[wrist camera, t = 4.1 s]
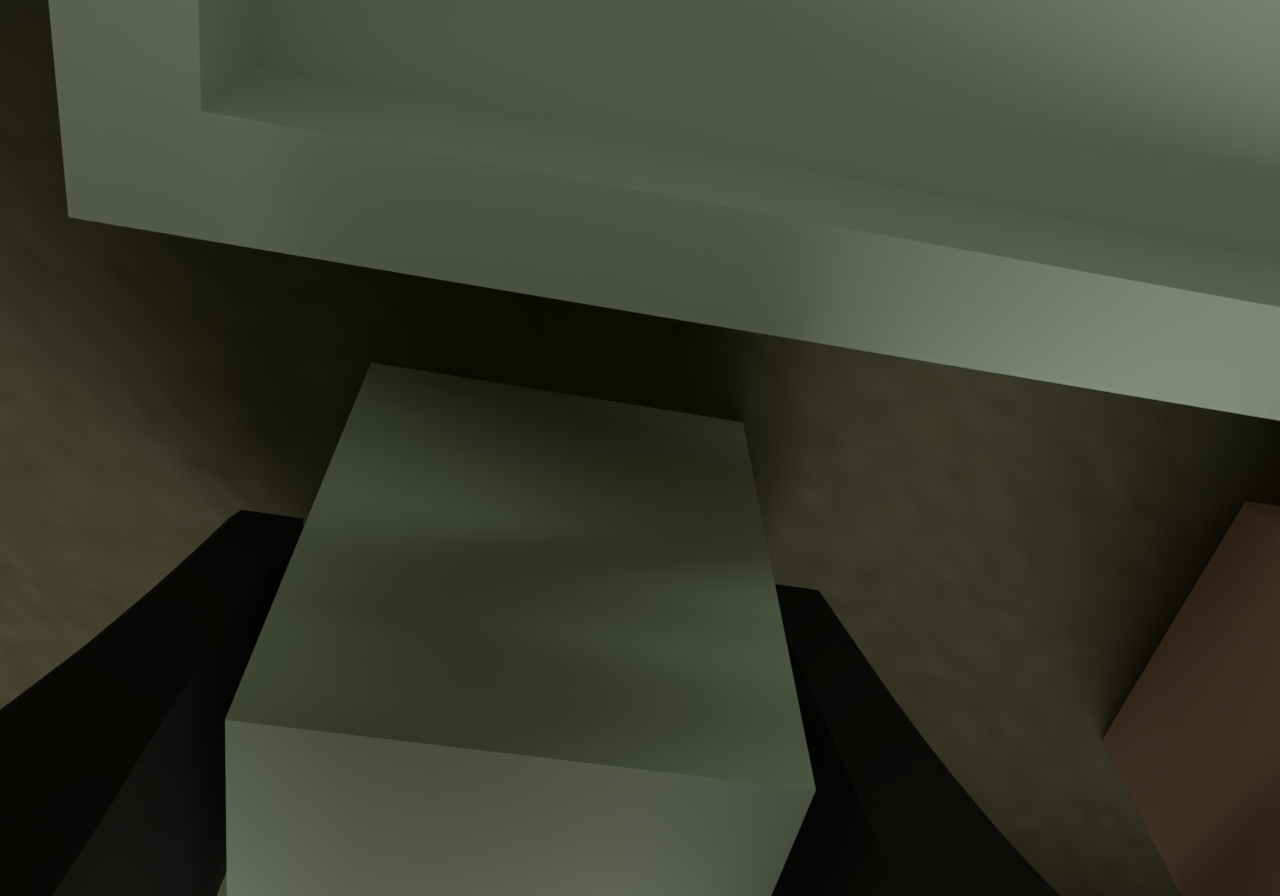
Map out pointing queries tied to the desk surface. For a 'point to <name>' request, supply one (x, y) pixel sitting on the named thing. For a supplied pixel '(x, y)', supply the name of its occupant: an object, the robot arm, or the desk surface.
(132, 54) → the sage tray
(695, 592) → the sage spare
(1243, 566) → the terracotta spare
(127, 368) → the desk surface
